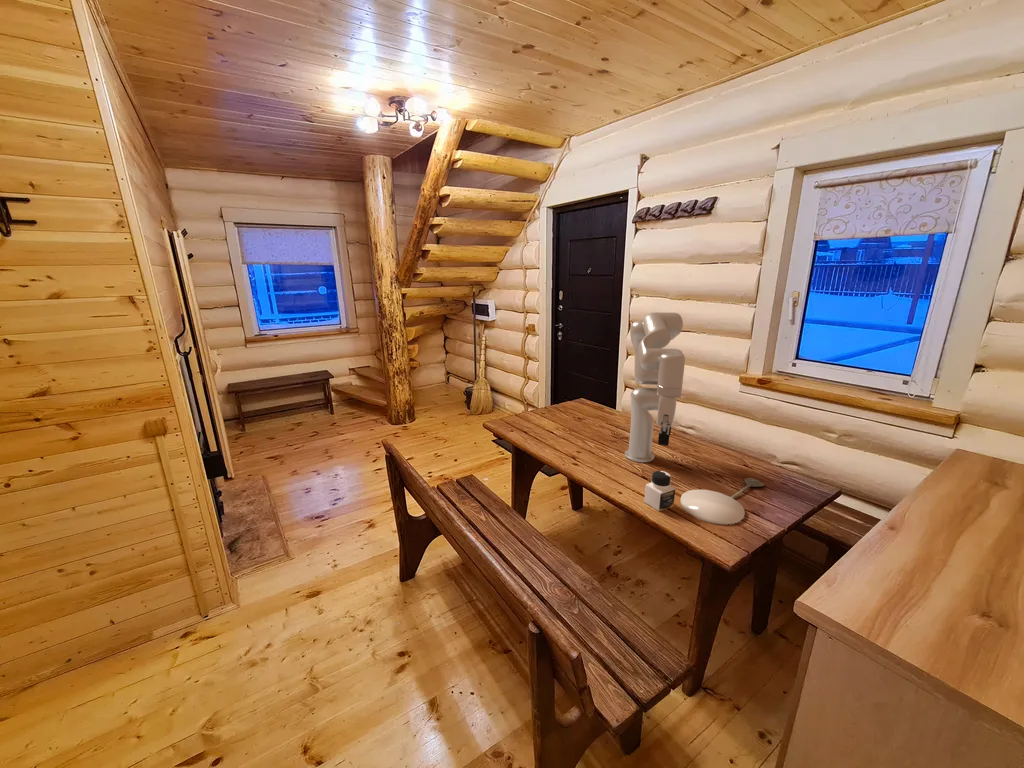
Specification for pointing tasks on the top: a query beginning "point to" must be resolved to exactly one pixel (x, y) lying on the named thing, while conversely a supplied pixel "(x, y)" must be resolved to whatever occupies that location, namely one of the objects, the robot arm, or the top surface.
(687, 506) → the dish
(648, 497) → the medicine bottle
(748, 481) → the grey spatula
